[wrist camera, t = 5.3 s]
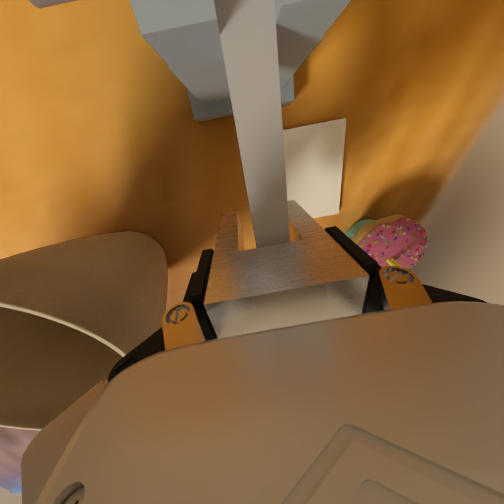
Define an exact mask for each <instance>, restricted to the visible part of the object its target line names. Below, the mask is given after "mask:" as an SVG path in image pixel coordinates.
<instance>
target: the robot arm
mask: <svg viewBox="0 0 504 504" xmlns="http://www.w3.org/2000/svg"><path fill="white" fill-rule="evenodd" d="M325 231H326V232H327V233H328V234H329V235H330V236H331V237H332V238H333V239H334V240H335V241H336V242H337V243H338V244H339V245H340V246H341V247H342V248H343V249H344V250H345V251H346V252H347V253H348V254H349V255H350V256H351V257H352V258H353V259H354V260H355V261H356V262H357V263H358V264H359V265H360V266H361V267H362V268H363V269H364V270H365V271H366V272H367V273H368V274H369V275H370V276H369V280H368V285H367V290H366V294H365V299H364V304H363V308H362V313H361V314H358V315H352V316H346V317H340V318H334V319H328V320H322V321H316V322H310V323H305V324H299V325H293V326H287V327H281V328H275V329H270V330H264V331H258V332H253V333H247V334H241V335H236V336H230V337H224V338H219V339H218V337H217V335H216V332H215V330H214V328H213V325H212V323H211V321H210V318H209V316H208V314H207V311H206V309H205V307H204V300H205V295H206V290H207V285H208V280H209V274H210V269H211V264H212V259H213V254H214V251H213V249H207V250H203V251H202V255H201V258H200V261H199V265H198V268H197V271H196V272H194V273H192V275H191V278H190V281H189V285H188V288H187V291H186V294H185V297H184V300H183V302H180V303H177V304H175V305H173V306H171V307H170V308H169V309H168V310H167V311H166V312H165V313H164V315H163V317H162V327H161V328H160V329H158V330H157V331H156V332H155V333H153V334H152V335H151V336H149V337H148V338H147V339H146V340H144V341H143V342H142V343H140V344H139V345H138V346H137V347H135V348H134V349H133V350H131V351H130V352H129V353H128V354H126V355H125V356H124V357H123V358H121V359H120V360H119V361H118V362H117V363H116V364H115V366H114V367H113V368H112V370H111V372H110V373H109V376H108V379H107V380H106V381H105V382H103V381H102V380H101V381H100V382H99V383H98V384H97V385H95V386H94V387H93V388H92V389H90V390H89V391H88V392H87V393H86V394H84V395H83V396H82V397H81V398H79V399H78V400H77V401H76V402H75V403H73V404H72V405H71V406H70V407H69V408H67V409H66V410H65V411H64V412H62V413H61V414H60V415H59V416H58V417H56V418H55V419H54V420H53V421H51V422H50V423H49V424H48V425H47V426H45V427H44V428H43V429H42V430H41V431H40V432H39V433H38V434H37V435H36V436H35V437H34V439H33V440H32V441H31V442H30V444H29V445H28V447H27V449H26V451H25V452H24V454H23V458H22V462H21V476H22V504H504V305H498V304H491V303H487V302H485V301H483V300H480V299H477V298H473V297H470V296H466V295H462V294H458V293H454V292H451V291H447V290H443V289H439V288H435V287H432V286H428V285H424V284H422V283H421V282H420V280H419V278H418V276H417V275H416V274H415V273H414V272H412V271H410V270H408V269H406V268H403V267H398V266H386V267H383V268H382V267H381V266H380V265H379V264H378V262H377V261H376V260H374V259H373V258H372V257H371V256H370V255H369V254H367V253H366V252H365V251H364V250H363V249H362V248H360V247H359V246H358V245H357V244H356V243H355V242H353V241H352V240H351V239H350V238H349V237H348V236H346V235H345V234H344V233H343V232H342V231H341V230H339V229H338V228H337V227H336V226H334V227H329V228H325Z"/></svg>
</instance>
